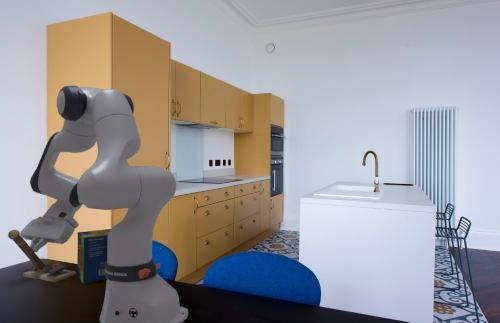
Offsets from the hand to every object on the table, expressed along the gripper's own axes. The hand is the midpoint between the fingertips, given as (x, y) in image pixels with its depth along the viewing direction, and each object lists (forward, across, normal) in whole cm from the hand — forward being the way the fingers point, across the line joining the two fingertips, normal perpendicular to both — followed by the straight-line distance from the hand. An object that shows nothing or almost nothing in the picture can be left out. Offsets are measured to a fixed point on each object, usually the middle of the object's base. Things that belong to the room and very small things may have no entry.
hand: (31, 251), depth 116 cm
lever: (+2, 0, +8) cm, 8 cm away
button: (+1, +4, +10) cm, 11 cm away
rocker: (+2, +8, +7) cm, 11 cm away
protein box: (-1, +21, +15) cm, 26 cm away
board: (+4, +4, +9) cm, 11 cm away
